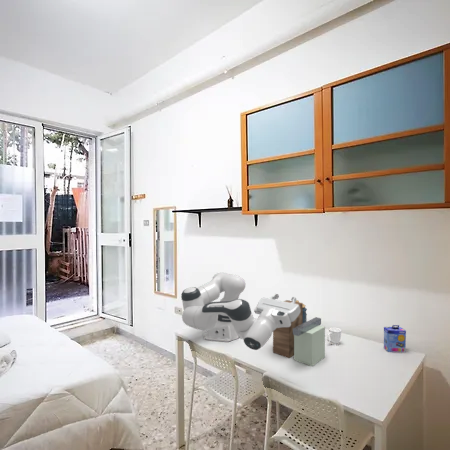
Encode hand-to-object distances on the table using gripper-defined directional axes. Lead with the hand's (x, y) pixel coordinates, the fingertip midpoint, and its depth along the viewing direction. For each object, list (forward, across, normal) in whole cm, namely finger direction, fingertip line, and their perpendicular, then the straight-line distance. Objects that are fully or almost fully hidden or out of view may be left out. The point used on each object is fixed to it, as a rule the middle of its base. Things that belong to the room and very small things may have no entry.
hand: (285, 296), depth 139 cm
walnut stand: (+2, -13, -43) cm, 45 cm away
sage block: (+2, 0, -43) cm, 43 cm away
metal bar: (+8, 0, -28) cm, 29 cm away
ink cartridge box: (+38, +29, -64) cm, 79 cm away
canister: (+36, -31, -63) cm, 79 cm away
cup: (+25, +1, -56) cm, 62 cm away
